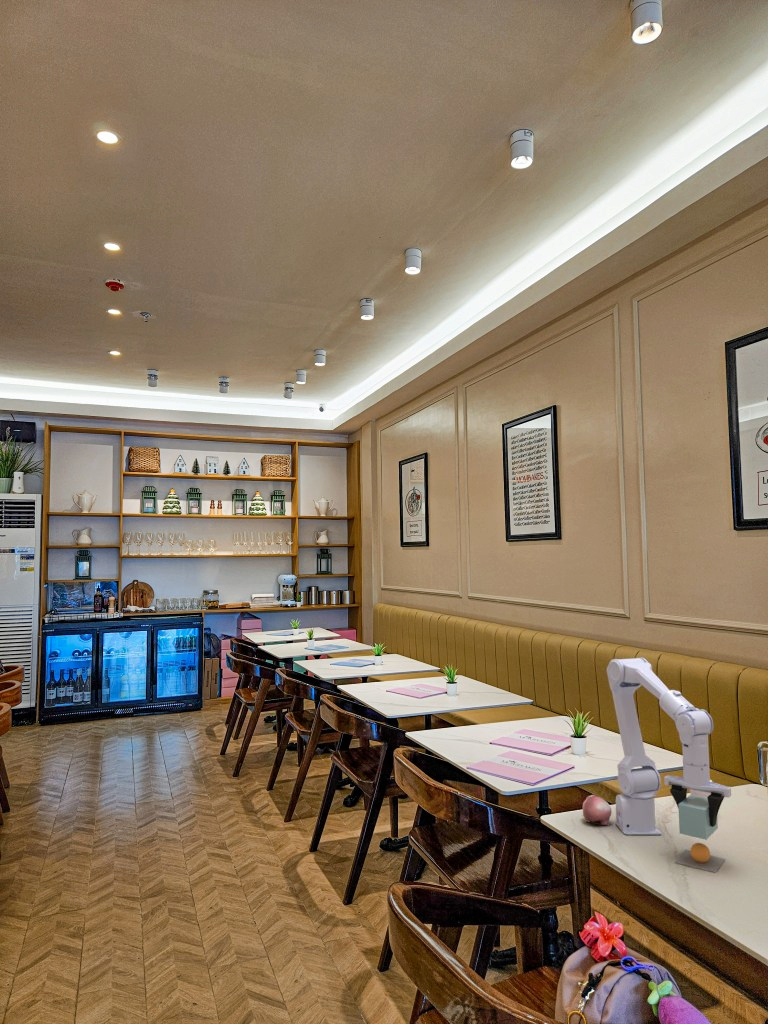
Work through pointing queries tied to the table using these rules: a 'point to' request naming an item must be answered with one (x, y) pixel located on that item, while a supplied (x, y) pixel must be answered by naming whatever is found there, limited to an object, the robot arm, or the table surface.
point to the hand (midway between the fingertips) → (698, 822)
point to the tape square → (688, 860)
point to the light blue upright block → (695, 817)
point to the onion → (596, 810)
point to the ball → (700, 852)
